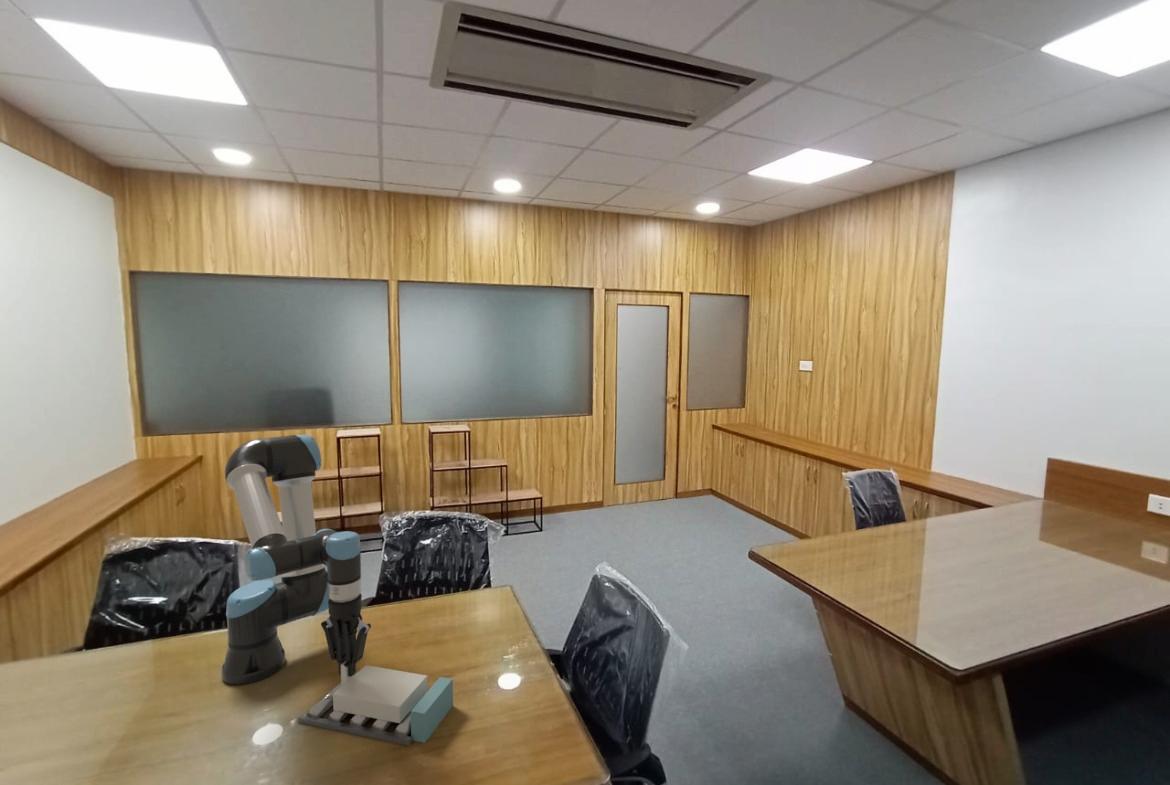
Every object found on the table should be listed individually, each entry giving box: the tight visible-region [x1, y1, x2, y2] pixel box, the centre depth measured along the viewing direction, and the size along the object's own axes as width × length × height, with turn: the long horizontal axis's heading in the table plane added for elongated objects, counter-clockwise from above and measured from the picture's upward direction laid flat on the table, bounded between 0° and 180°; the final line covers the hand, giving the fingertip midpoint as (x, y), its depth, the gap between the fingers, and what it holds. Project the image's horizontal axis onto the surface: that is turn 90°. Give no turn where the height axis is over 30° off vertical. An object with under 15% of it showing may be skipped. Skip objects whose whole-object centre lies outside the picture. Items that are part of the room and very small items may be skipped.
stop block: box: [410, 676, 454, 744], centre depth 124 cm, size 4×13×7 cm, turn 166°
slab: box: [332, 664, 429, 724], centre depth 127 cm, size 18×12×4 cm, turn 76°
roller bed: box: [297, 682, 427, 747], centre depth 128 cm, size 16×30×3 cm, turn 76°
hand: (347, 686), depth 130 cm, fingers closed
